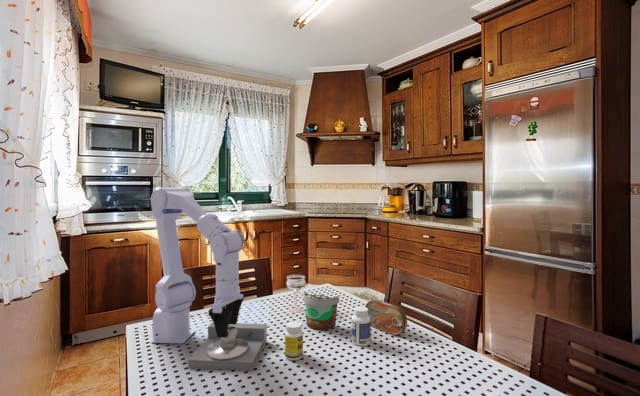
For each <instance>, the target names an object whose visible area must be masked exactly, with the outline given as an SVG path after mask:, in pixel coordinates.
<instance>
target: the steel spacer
mask: <svg viewBox="0 0 640 396" xmlns="http://www.w3.org/2000/svg"><path fill="white" fill-rule="evenodd" d="M236 347H237V328H236V327H233V326H229V327H228V333H227V336H226V337H225V338H223V337H221V349H222V350H225V351H229V350H233V349H235V348H236Z"/></svg>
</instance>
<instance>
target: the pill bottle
mask: <svg viewBox="0 0 640 396" xmlns="http://www.w3.org/2000/svg"><path fill="white" fill-rule="evenodd" d="M353 313H354V314H353V315H352V316H351V343H352V344H354V345H355V346H358V347H366V346H368V345H370V344H371V328H372V326H371V319H370V317H369V316H368V308H366V307H365V306H356V307H354V309H353Z"/></svg>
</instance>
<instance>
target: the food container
mask: <svg viewBox="0 0 640 396" xmlns="http://www.w3.org/2000/svg"><path fill="white" fill-rule="evenodd" d="M302 302H303V303H304V306H305V319H306V325H307V327H308V328H309V329H311V330H315V331H327V330H331V329H334V328H335V326H336V322H337V311H338V304H339V303H340V298H339V295H337V296H335V297H331V296H327V295H323V294H308V293H307V291H305V292H304V294H303V297H302Z"/></svg>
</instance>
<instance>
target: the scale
mask: <svg viewBox="0 0 640 396" xmlns="http://www.w3.org/2000/svg"><path fill="white" fill-rule="evenodd" d="M267 325H268V324H267V323H264V324H263V323H239V322H237V323H236V324H229V325H228V327H229V326H233V327H236V328H237V338H240V339H244V340H245V341H247V342H248V351H247V352H246V353H245V354H244V355H242V356H240V357H238V358H235V359H231V360H214V359H211V358H209V357H208V356H207V347H208V346H209V345H210V344H211V343H213V342H215V341H217V340H220V339H221V337H218V336H217V333H216V329H215V325H214V323H213V322H211V323H210V324H209V325H208V327H207V338H206V339H205V340H204V342H202V344H201V345H200V346H199V347H198V348H197V349H196V350H195V352H194V353H193V354H191V356H190V357H189V358H188V359H187V368H188V369H203V370H204V369H208V370H229V371H231V370H232V371H253V370H254V368H255V366H256V364H257V361H258V360H259V358H260V356H261V354H262V352H263V349H264V347H265V346H266V343H267V341H268V339H267V338H268V337H267V334H268V333H267V331H268V330H267V327H268V326H267Z"/></svg>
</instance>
